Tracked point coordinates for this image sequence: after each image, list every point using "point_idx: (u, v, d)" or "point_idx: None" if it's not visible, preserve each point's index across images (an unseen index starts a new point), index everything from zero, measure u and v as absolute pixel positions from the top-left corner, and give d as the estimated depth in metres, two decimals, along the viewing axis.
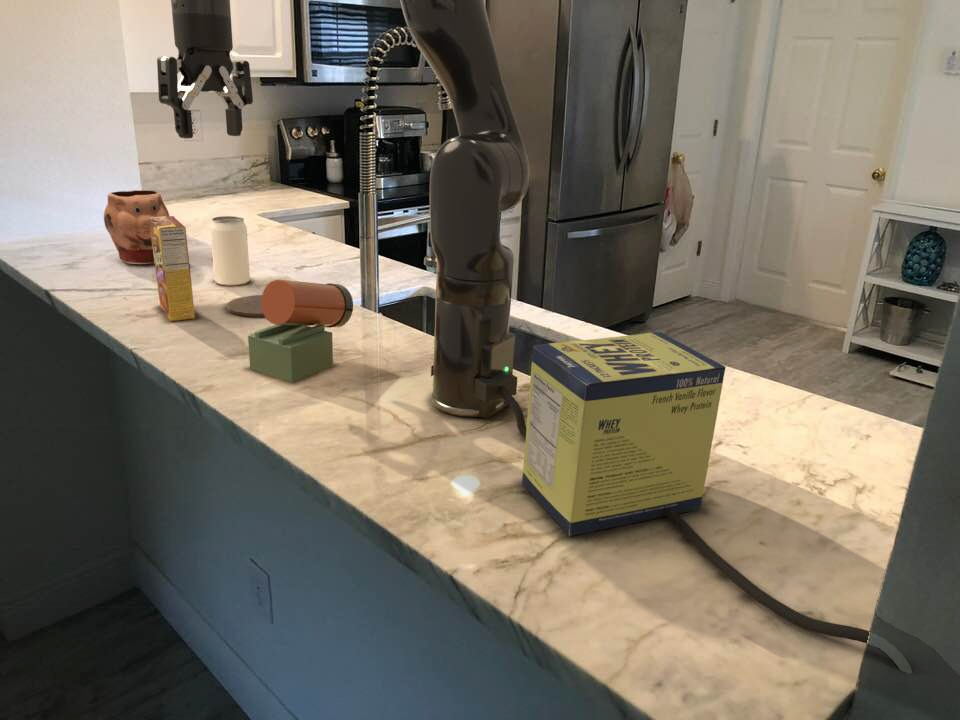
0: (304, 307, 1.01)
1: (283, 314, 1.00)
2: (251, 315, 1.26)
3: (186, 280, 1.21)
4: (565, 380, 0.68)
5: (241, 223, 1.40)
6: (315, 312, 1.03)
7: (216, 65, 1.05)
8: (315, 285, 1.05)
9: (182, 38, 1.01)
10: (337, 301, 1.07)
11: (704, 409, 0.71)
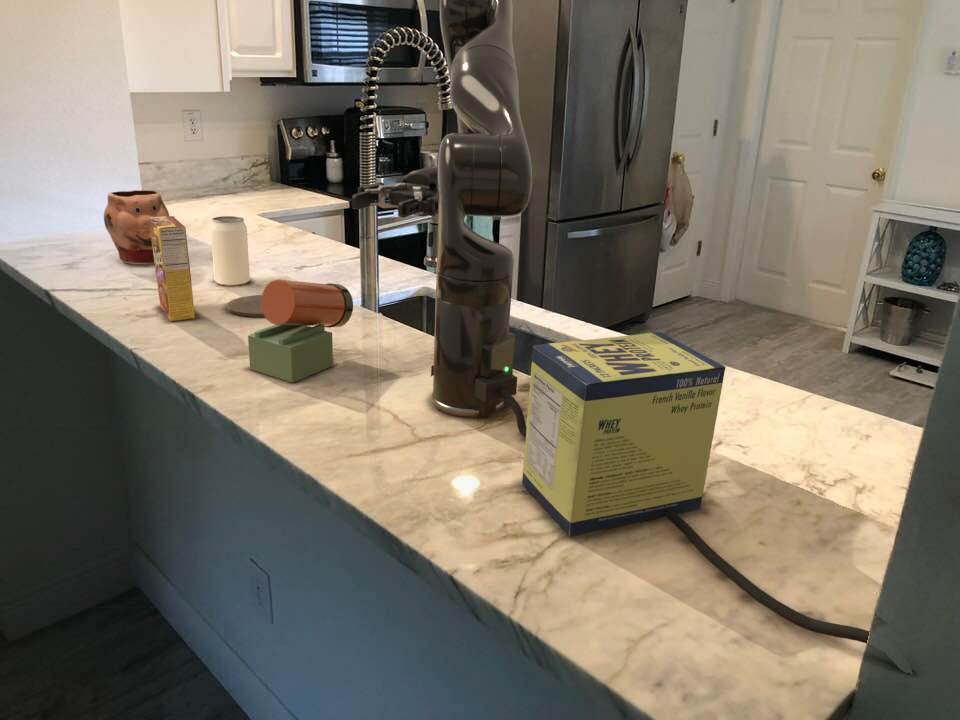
0: (304, 307, 1.01)
1: (283, 314, 1.00)
2: (251, 315, 1.26)
3: (186, 280, 1.21)
4: (565, 380, 0.68)
5: (241, 223, 1.40)
6: (315, 312, 1.03)
7: None
8: (315, 285, 1.05)
9: None
10: (337, 301, 1.07)
11: (704, 409, 0.71)
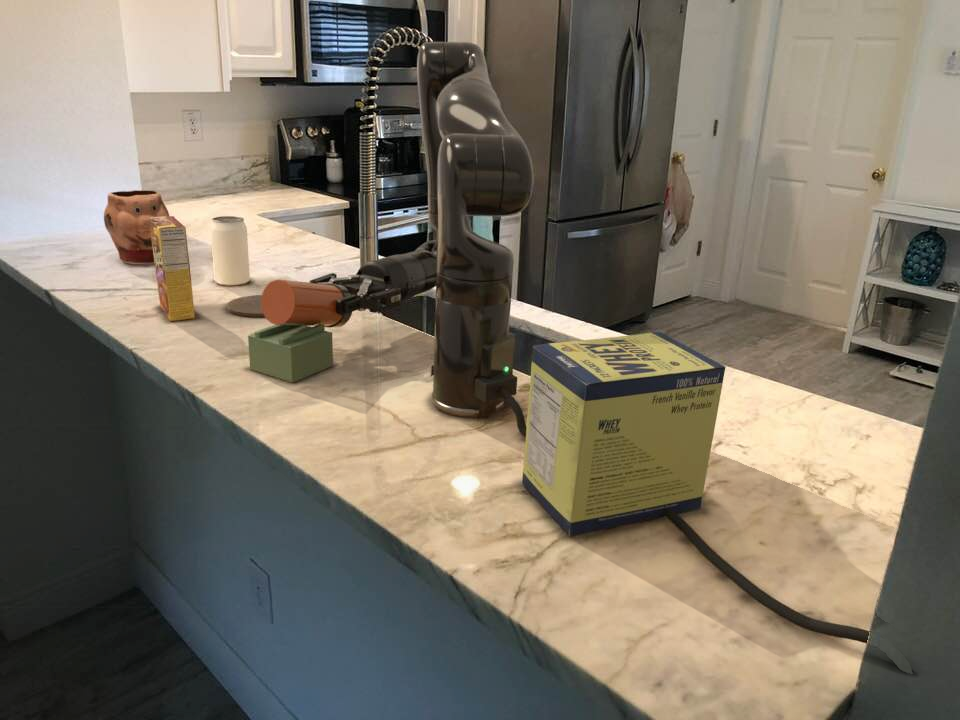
0: (304, 307, 1.01)
1: (283, 314, 1.00)
2: (251, 315, 1.26)
3: (186, 280, 1.21)
4: (565, 380, 0.68)
5: (241, 223, 1.40)
6: (315, 312, 1.03)
7: None
8: (315, 285, 1.05)
9: None
10: None
11: (704, 409, 0.71)
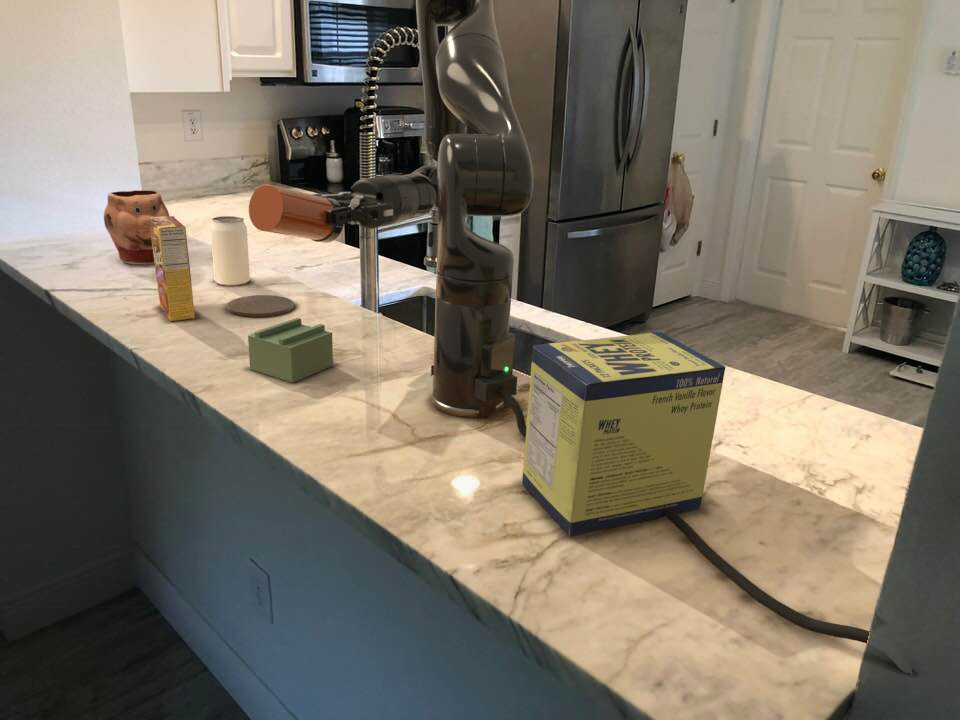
0: (293, 213, 0.98)
1: (271, 220, 0.97)
2: (251, 315, 1.26)
3: (186, 280, 1.21)
4: (565, 380, 0.68)
5: (241, 223, 1.40)
6: (305, 220, 1.00)
7: None
8: (304, 194, 1.02)
9: None
10: None
11: (704, 409, 0.71)
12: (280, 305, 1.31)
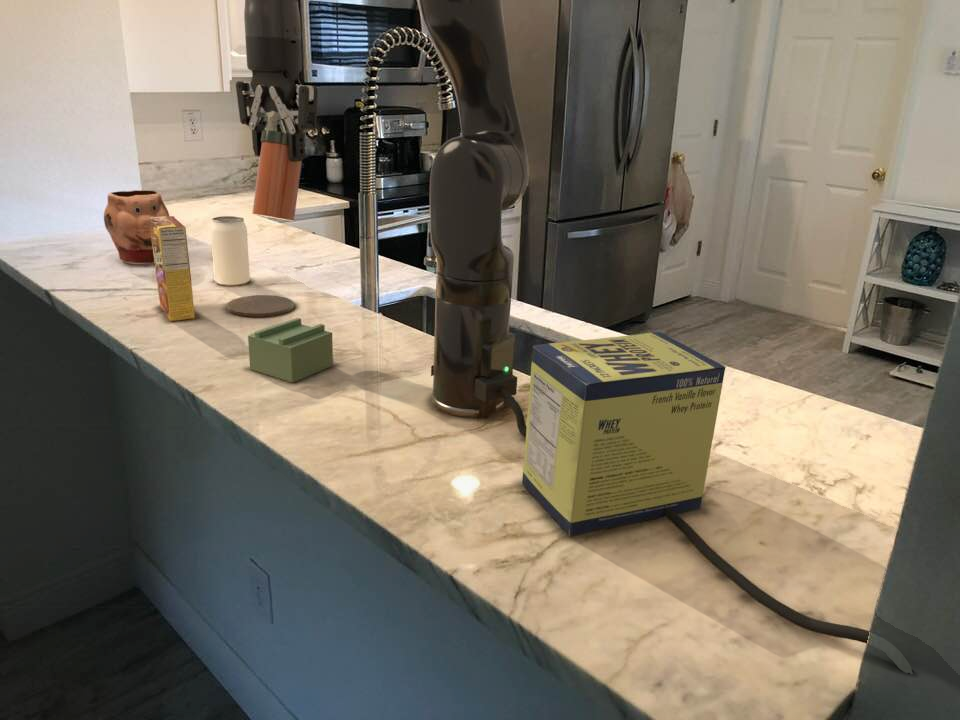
0: (289, 206, 1.11)
1: None
2: (251, 315, 1.26)
3: (186, 280, 1.21)
4: (565, 380, 0.68)
5: (241, 223, 1.40)
6: (294, 190, 1.11)
7: (274, 86, 1.07)
8: (269, 175, 1.09)
9: None
10: None
11: (704, 409, 0.71)
12: (280, 305, 1.31)
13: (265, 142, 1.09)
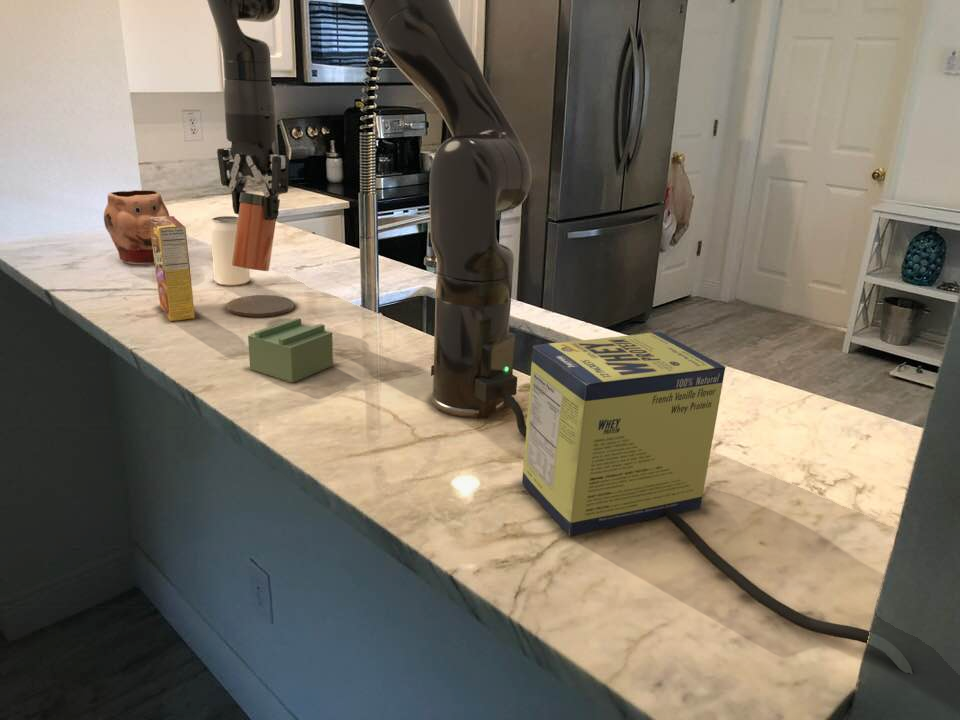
0: (265, 258, 1.25)
1: None
2: (251, 315, 1.26)
3: (186, 280, 1.21)
4: (565, 380, 0.68)
5: None
6: (269, 244, 1.25)
7: (250, 154, 1.21)
8: (246, 232, 1.23)
9: None
10: None
11: (704, 409, 0.71)
12: (280, 305, 1.31)
13: (243, 203, 1.23)
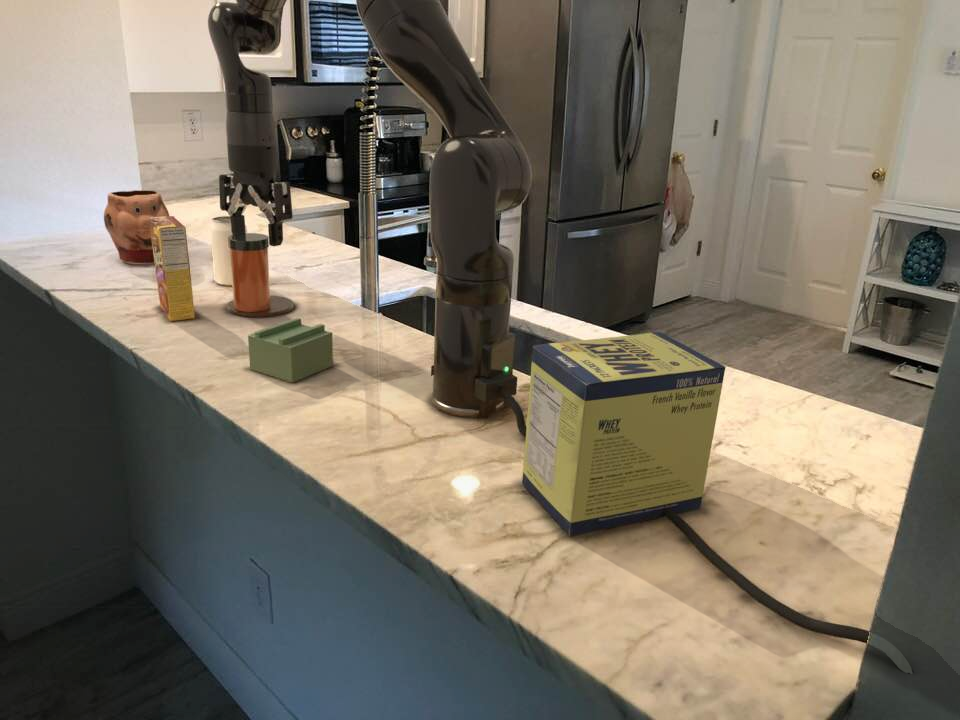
0: (264, 299, 1.27)
1: None
2: (251, 315, 1.26)
3: (186, 280, 1.21)
4: (565, 380, 0.68)
5: None
6: (266, 284, 1.27)
7: (252, 184, 1.22)
8: (241, 278, 1.24)
9: None
10: (256, 259, 1.24)
11: (704, 409, 0.71)
12: (280, 305, 1.31)
13: (232, 249, 1.23)
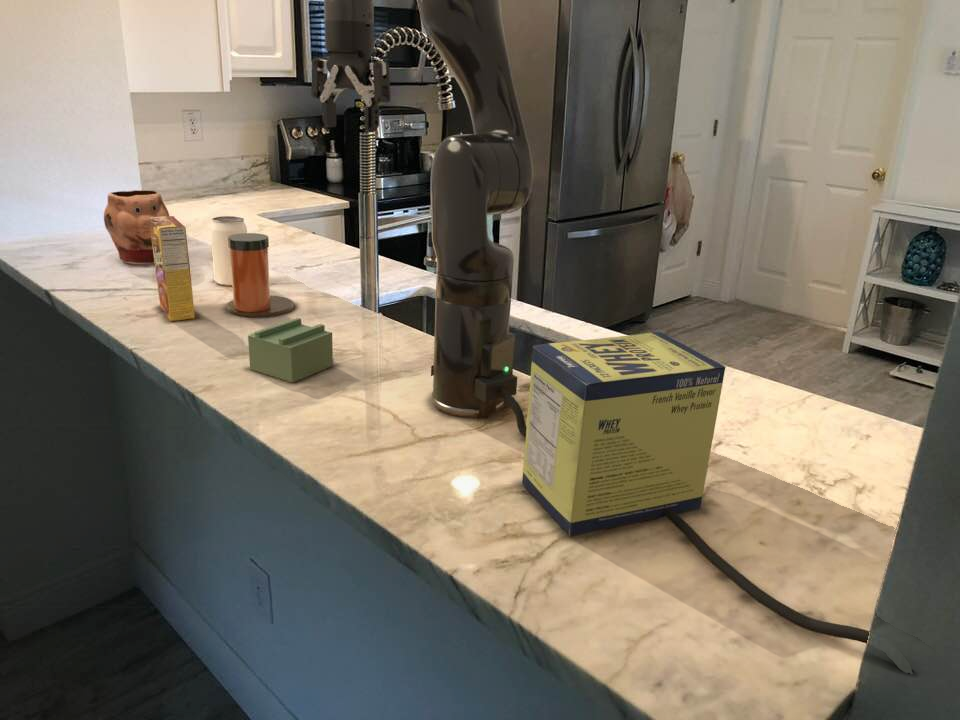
0: (264, 299, 1.27)
1: None
2: (251, 315, 1.26)
3: (186, 280, 1.21)
4: (565, 380, 0.68)
5: (241, 223, 1.40)
6: (266, 284, 1.27)
7: (349, 65, 1.18)
8: (241, 278, 1.24)
9: None
10: (256, 259, 1.24)
11: (704, 409, 0.71)
12: (280, 305, 1.31)
13: (232, 250, 1.23)
